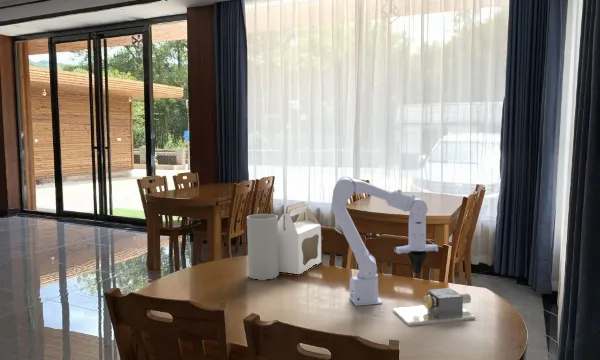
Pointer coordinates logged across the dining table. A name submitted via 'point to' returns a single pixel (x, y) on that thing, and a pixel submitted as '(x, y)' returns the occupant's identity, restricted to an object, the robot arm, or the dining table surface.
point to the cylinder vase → (263, 246)
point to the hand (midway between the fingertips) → (416, 272)
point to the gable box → (298, 240)
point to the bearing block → (436, 309)
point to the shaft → (431, 301)
